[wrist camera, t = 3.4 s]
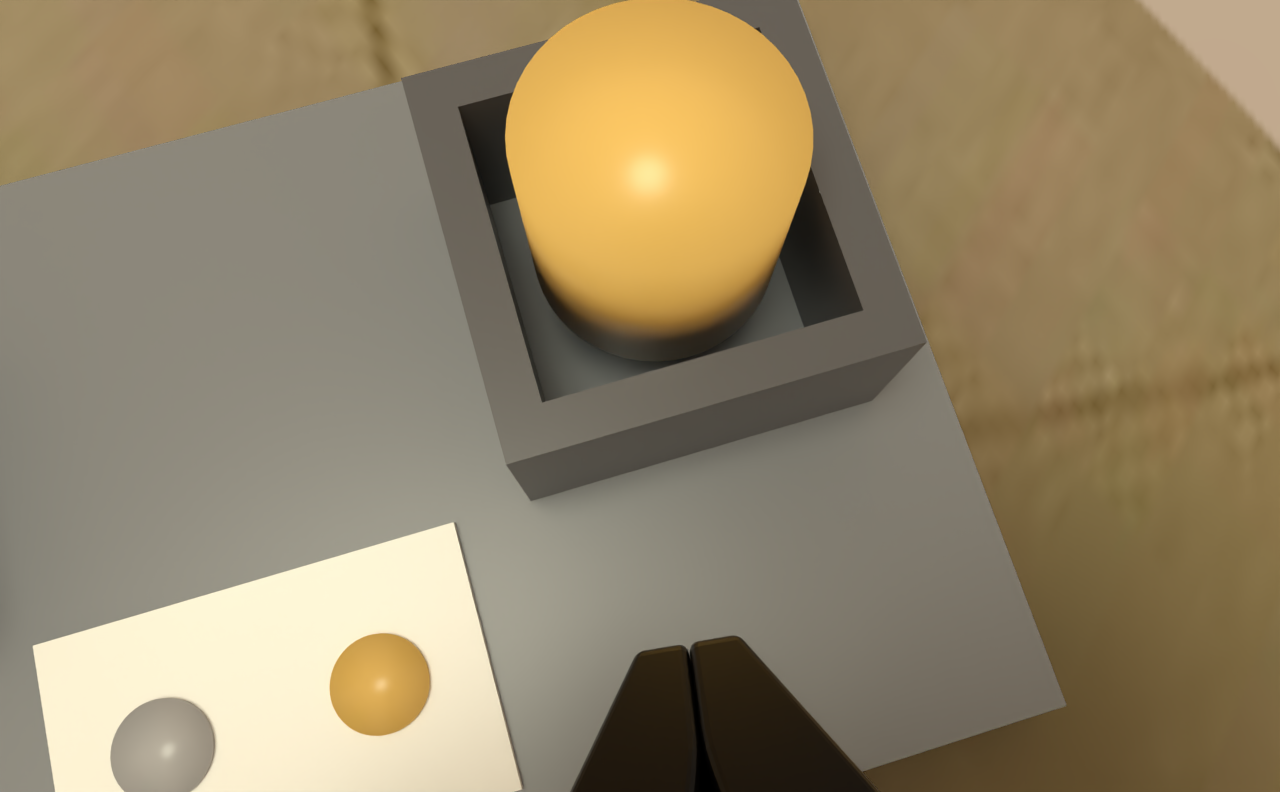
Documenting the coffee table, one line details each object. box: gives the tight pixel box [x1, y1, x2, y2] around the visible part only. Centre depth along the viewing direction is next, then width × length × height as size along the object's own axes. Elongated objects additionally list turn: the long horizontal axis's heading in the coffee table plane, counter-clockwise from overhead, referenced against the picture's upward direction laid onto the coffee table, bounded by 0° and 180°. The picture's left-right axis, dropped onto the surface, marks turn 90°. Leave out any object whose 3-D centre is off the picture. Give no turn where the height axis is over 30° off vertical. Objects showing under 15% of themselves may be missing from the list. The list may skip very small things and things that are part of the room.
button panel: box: [0, 0, 1067, 792], centre depth 19 cm, size 16×28×6 cm, turn 107°
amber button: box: [505, 0, 813, 362], centre depth 17 cm, size 4×4×4 cm
